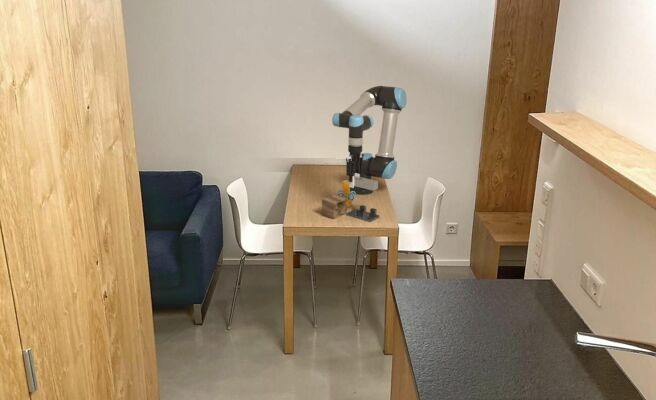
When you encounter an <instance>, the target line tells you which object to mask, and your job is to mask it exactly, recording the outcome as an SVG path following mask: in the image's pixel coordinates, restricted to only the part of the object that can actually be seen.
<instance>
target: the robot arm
mask: <svg viewBox="0 0 656 400" xmlns="http://www.w3.org/2000/svg"><path fill="white" fill-rule="evenodd" d="M406 105H407V94H406V91H405V89H404V88H401V87H397V86H385V85H376V86H374V87H371V88H368V89H366V90H365V91H364V92H362V93H361V95H360V97H359V98H358V99H357V100H356V101H355V102H353V103H352V104H351V105H349V106H348V107H347V108H346V109H345V110H344V111H342V113H341V112H336V113H334V114H333V116H332V119H331V121H332V125H333V126H334V127H338V128H343V129H348V145H347V148H348V149H347V150H348V153H349V155H348V157H346V158H345V162H346V163H345V164H346V171H345V172H346V173H345V174H346V176H348V180H349V187H350V192H351V191H355V193H356V195H369V194H372V193H374V191H375V190H374V191H373V190H369V189H365V188H361V187H357V186H354V176H358V177H362V178H366V179H371V180H373V179H372V177H373V178H379V179H382V180H384V179H385V180H390V179H392V178H393V177H394V176H395V174H396V171H397V168H398V162H397V160H395V159H396V158H395V156H394V155H393V153H394V145H395V138H396V133H397V132H396V131H397V126H398V125H397V124H398V117H399V114H400V113H401V112H402V109H404V108H405V107H406ZM373 106H380V107H381V110H382V111H383V117H382V122H381V123H382V124H381V129H380V139H379V144H378V151H377V152H376V153H375V155H374V156H373V154H372V153H370V152H363V143H364V140H363V136H364V135H363V134H364V132H365V131H367V130H370V129H371V128H372V127H373V126H374V123H375V122H374V119H373V117H372V116H371V115H367V114H366V115H365V114H364V115H362V114H363V113H364V112H365V111H366V110H367V109H369V108H373ZM352 194H354V192H352Z"/></svg>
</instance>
